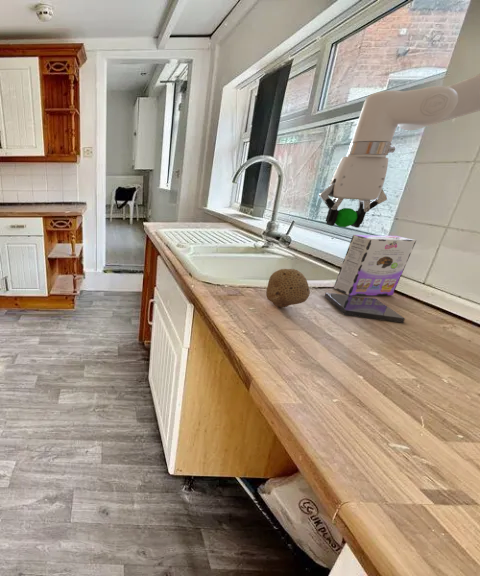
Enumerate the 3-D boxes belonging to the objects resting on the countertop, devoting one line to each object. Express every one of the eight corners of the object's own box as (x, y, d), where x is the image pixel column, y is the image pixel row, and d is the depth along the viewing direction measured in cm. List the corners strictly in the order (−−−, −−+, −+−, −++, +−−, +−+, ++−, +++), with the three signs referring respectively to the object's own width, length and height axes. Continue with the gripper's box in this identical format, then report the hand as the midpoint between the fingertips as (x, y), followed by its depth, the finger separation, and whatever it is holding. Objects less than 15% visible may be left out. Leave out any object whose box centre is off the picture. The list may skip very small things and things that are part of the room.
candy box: (374, 288, 93) (396, 235, 87) (393, 296, 87) (418, 239, 81) (332, 287, 92) (352, 233, 85) (348, 295, 86) (371, 238, 80)
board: (374, 302, 82) (376, 298, 82) (403, 323, 71) (405, 318, 71) (324, 296, 85) (325, 292, 84) (344, 314, 74) (346, 310, 74)
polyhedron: (328, 224, 84) (333, 206, 83) (349, 226, 83) (355, 208, 81) (333, 227, 80) (339, 208, 78) (356, 229, 78) (363, 210, 77)
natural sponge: (307, 309, 76) (320, 271, 72) (296, 319, 71) (309, 278, 67) (269, 297, 82) (279, 261, 79) (256, 305, 77) (266, 267, 73)
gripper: (399, 153, 76) (371, 226, 83) (321, 150, 80) (301, 221, 87) (420, 151, 69) (388, 231, 76) (334, 149, 73) (311, 225, 80)
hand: (342, 225), depth 81 cm, fingers closed on polyhedron, 5 cm apart
